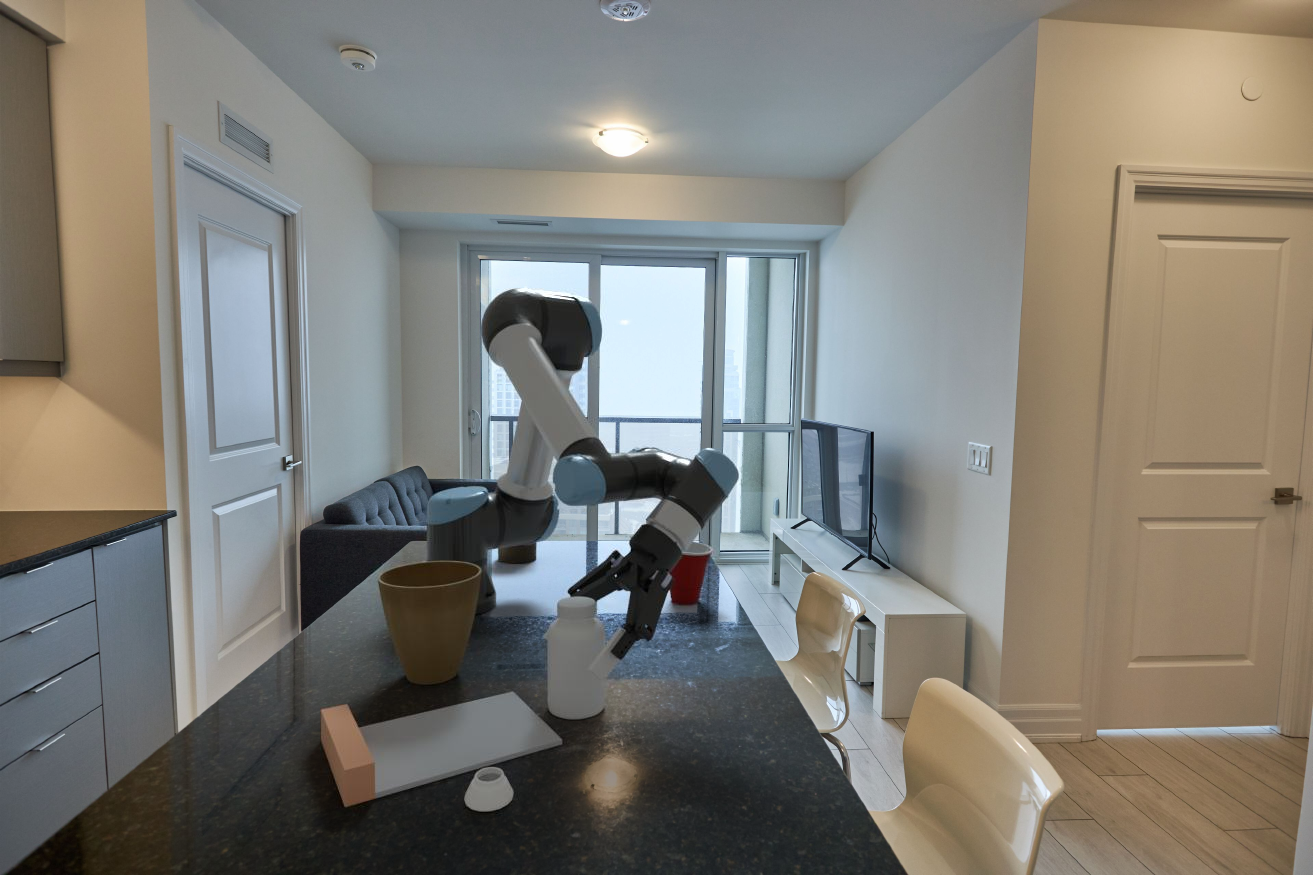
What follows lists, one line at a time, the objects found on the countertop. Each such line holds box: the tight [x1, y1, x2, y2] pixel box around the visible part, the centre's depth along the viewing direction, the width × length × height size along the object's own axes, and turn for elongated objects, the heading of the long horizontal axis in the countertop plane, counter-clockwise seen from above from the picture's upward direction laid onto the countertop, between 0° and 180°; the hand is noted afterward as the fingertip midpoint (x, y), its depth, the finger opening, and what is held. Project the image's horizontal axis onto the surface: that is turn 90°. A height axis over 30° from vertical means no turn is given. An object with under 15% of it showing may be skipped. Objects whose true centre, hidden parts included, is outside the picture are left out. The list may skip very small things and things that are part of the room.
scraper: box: [320, 691, 563, 808], centre depth 86 cm, size 16×25×4 cm, turn 124°
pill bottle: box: [547, 597, 607, 720], centre depth 96 cm, size 8×8×15 cm
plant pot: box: [377, 561, 482, 686], centre depth 106 cm, size 15×15×16 cm
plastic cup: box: [669, 541, 714, 606], centre depth 146 cm, size 11×11×12 cm
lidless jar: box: [464, 766, 514, 812], centre depth 75 cm, size 5×3×5 cm
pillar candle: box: [497, 542, 538, 564], centre depth 178 cm, size 10×10×15 cm
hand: (571, 658), depth 95 cm, fingers open, 13 cm apart
